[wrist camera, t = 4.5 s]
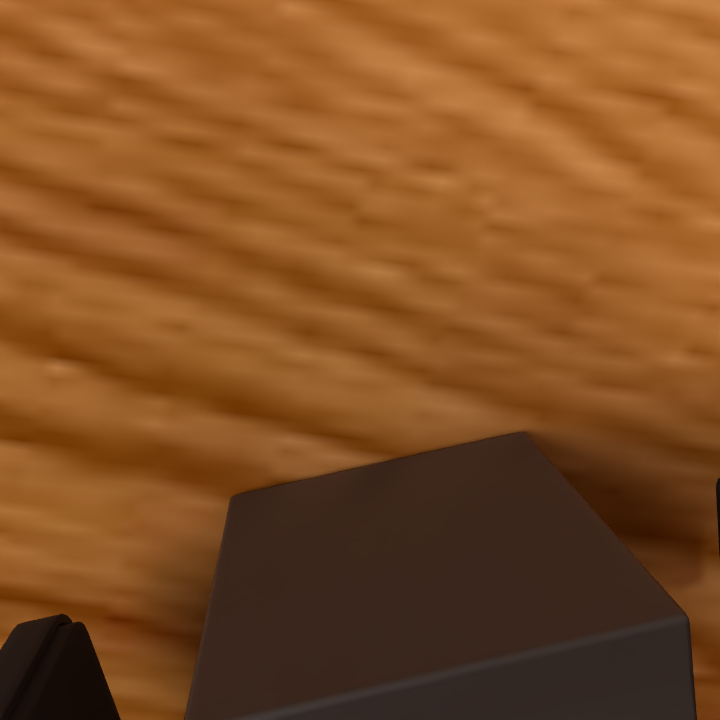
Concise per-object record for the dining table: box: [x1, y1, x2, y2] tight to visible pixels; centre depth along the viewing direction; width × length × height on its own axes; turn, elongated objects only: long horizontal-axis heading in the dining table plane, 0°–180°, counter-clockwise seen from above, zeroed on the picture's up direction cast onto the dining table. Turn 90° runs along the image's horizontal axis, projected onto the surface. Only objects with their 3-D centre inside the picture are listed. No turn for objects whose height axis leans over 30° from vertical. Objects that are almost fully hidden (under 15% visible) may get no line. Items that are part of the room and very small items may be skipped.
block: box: [184, 432, 697, 720], centre depth 8 cm, size 4×4×4 cm
